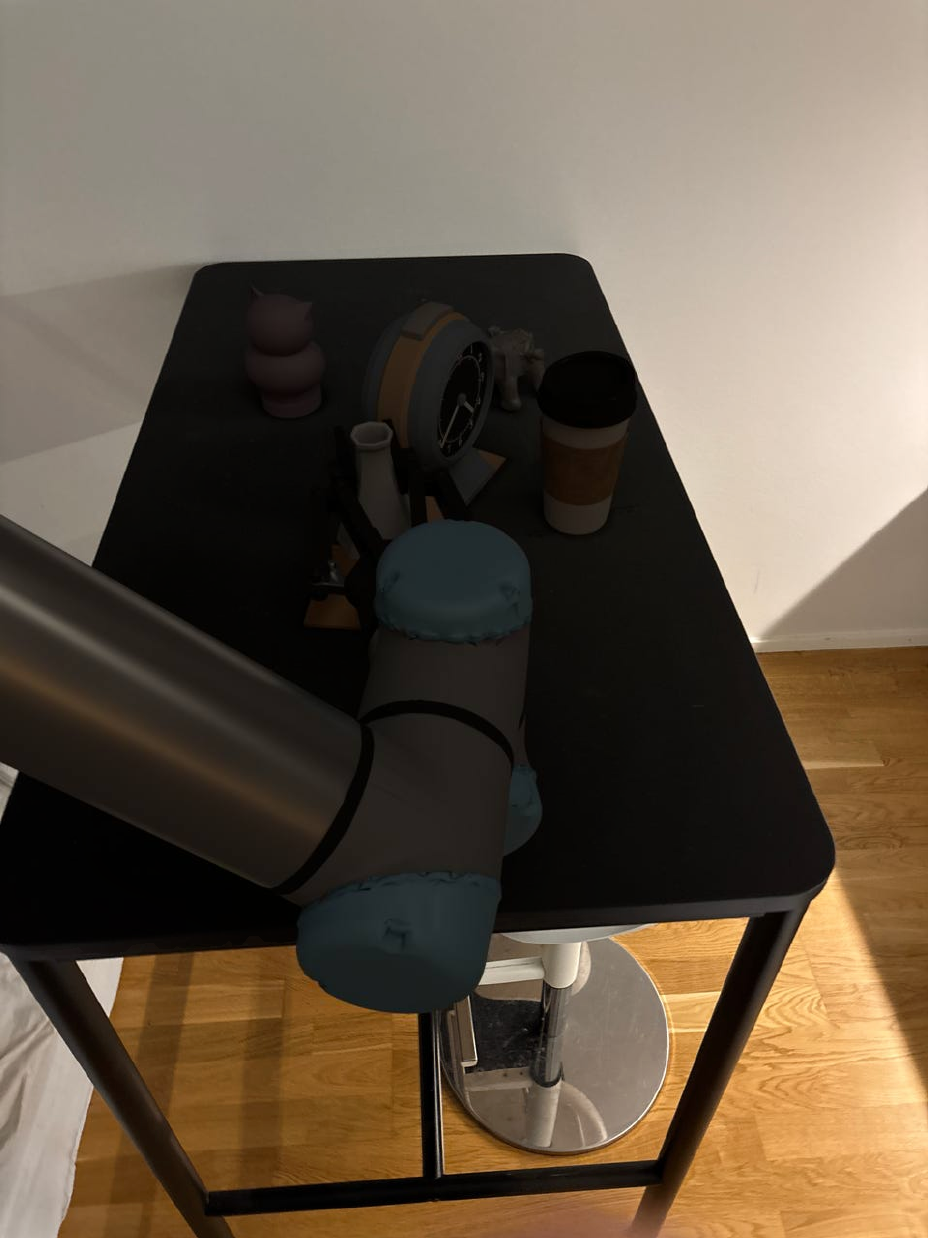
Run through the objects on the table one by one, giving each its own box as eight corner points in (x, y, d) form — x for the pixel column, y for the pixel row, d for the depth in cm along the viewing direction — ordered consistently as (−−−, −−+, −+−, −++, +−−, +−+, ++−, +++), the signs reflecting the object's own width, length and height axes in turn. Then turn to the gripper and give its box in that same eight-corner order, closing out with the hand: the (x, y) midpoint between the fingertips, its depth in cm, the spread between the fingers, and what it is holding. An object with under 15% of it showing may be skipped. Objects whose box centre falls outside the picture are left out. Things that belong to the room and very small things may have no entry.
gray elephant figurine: (557, 384, 107) (561, 320, 102) (515, 443, 100) (517, 376, 94) (479, 366, 110) (480, 302, 105) (433, 422, 103) (430, 356, 97)
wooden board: (303, 626, 82) (303, 622, 81) (328, 547, 89) (328, 544, 88) (446, 637, 81) (446, 634, 80) (460, 556, 88) (460, 553, 87)
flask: (418, 503, 83) (413, 401, 76) (431, 559, 78) (426, 456, 71) (333, 513, 82) (319, 411, 75) (340, 570, 77) (326, 467, 70)
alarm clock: (440, 536, 90) (435, 364, 77) (350, 505, 93) (332, 335, 80) (510, 454, 98) (515, 288, 86) (425, 428, 102) (419, 264, 89)
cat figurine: (236, 409, 104) (215, 304, 96) (279, 374, 109) (263, 271, 101) (303, 430, 102) (287, 324, 93) (344, 393, 106) (333, 289, 98)
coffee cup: (639, 521, 91) (662, 379, 80) (568, 556, 88) (581, 412, 77) (582, 476, 96) (596, 336, 85) (512, 507, 92) (517, 366, 82)
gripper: (305, 700, 65) (269, 488, 81) (541, 656, 68) (461, 459, 84) (289, 620, 60) (255, 411, 76) (547, 575, 62) (460, 382, 78)
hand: (363, 436), depth 80 cm, fingers closed on flask, 3 cm apart
